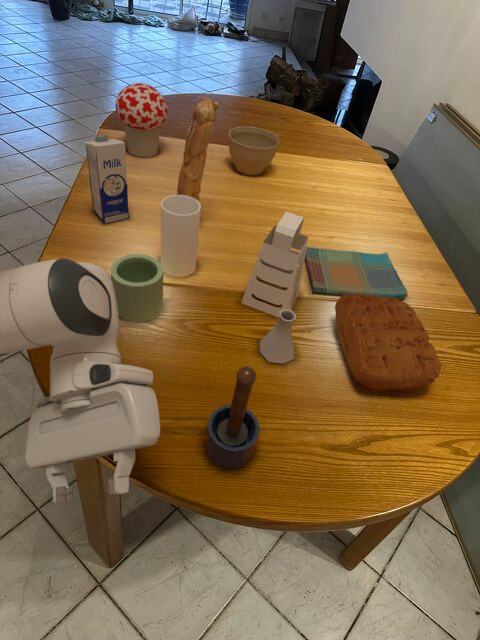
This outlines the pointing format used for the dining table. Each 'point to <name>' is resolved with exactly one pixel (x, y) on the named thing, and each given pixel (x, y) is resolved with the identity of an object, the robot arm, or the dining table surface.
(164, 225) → the cup
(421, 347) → the cuneiform tablet
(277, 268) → the grater
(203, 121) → the sculpture
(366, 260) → the dish towel
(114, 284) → the jar
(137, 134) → the decorative object
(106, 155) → the milk carton
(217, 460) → the holder
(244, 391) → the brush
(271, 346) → the flask
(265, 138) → the planter bowl
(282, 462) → the dining table surface
